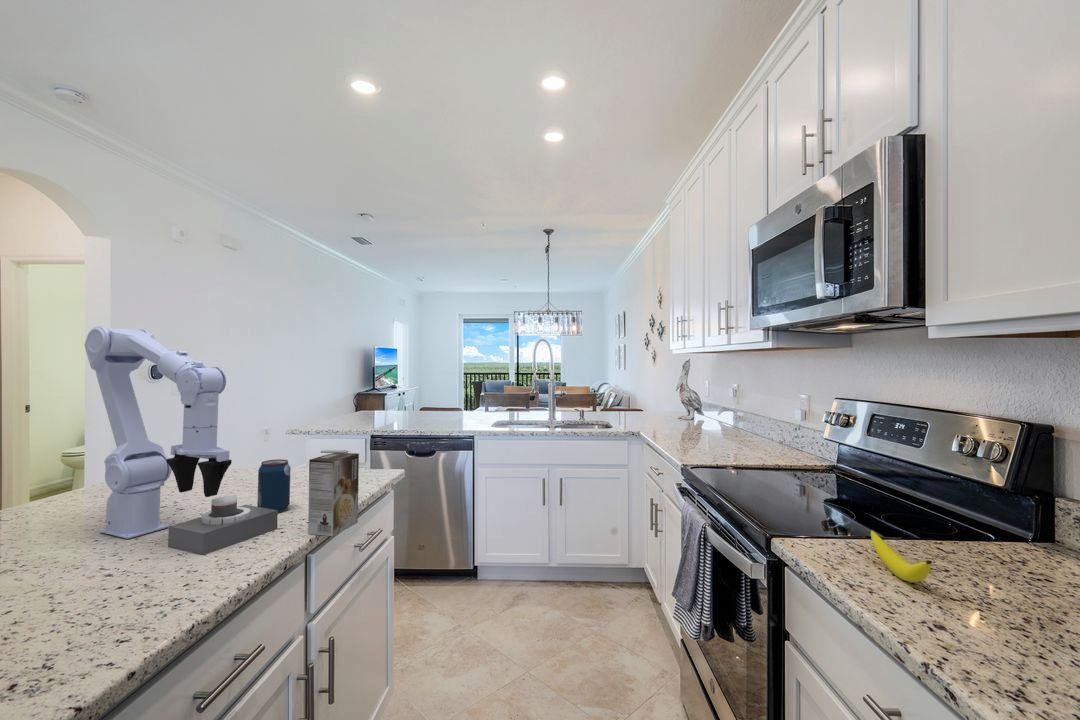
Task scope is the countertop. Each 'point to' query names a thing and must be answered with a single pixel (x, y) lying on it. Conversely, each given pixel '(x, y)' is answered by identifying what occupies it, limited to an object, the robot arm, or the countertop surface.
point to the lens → (224, 506)
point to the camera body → (221, 529)
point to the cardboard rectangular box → (333, 493)
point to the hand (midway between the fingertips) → (198, 493)
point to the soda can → (274, 485)
